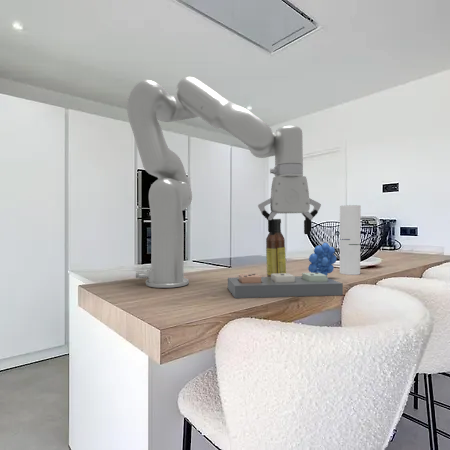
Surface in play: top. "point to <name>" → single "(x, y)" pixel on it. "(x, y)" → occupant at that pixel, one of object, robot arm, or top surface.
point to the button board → (284, 288)
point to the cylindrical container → (350, 239)
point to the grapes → (322, 259)
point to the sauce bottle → (275, 251)
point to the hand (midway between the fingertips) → (289, 234)
